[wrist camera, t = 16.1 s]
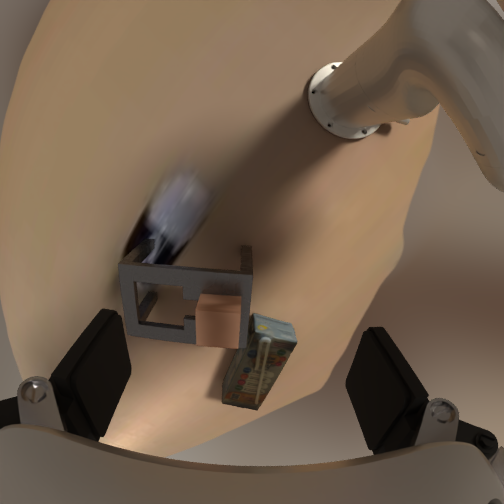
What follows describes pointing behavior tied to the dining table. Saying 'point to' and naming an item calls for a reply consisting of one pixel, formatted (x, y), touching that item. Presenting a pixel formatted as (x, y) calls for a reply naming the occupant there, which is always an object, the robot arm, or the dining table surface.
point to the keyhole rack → (193, 286)
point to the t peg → (218, 321)
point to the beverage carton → (258, 362)
